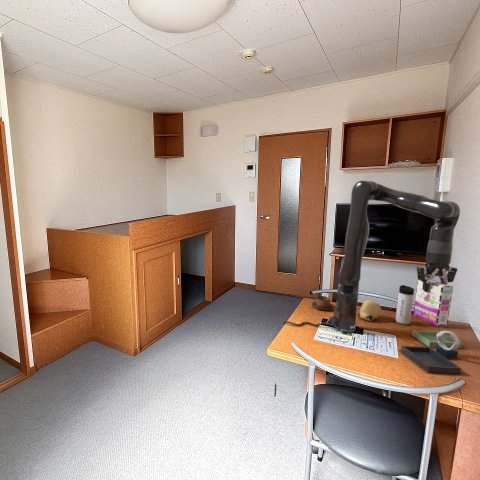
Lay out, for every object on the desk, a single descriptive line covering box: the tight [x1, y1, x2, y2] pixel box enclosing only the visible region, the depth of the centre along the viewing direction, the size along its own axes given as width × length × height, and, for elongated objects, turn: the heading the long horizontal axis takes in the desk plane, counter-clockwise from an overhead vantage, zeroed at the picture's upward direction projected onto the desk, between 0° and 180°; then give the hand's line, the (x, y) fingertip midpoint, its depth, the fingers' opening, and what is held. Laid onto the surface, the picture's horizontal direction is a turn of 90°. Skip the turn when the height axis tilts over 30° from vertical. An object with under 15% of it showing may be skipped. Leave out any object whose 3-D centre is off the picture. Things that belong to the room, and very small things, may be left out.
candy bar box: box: [412, 279, 454, 326], centre depth 130 cm, size 11×5×16 cm, turn 5°
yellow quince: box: [357, 299, 382, 322], centre depth 174 cm, size 10×12×11 cm
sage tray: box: [411, 330, 463, 349], centre depth 148 cm, size 14×12×3 cm
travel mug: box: [395, 284, 415, 326], centre depth 168 cm, size 6×7×20 cm
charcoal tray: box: [400, 345, 462, 375], centre depth 132 cm, size 12×17×3 cm
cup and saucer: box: [311, 295, 335, 311], centre depth 190 cm, size 12×12×6 cm
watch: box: [435, 330, 461, 360], centre depth 136 cm, size 6×8×11 cm
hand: (433, 291), depth 129 cm, fingers closed on candy bar box, 5 cm apart
